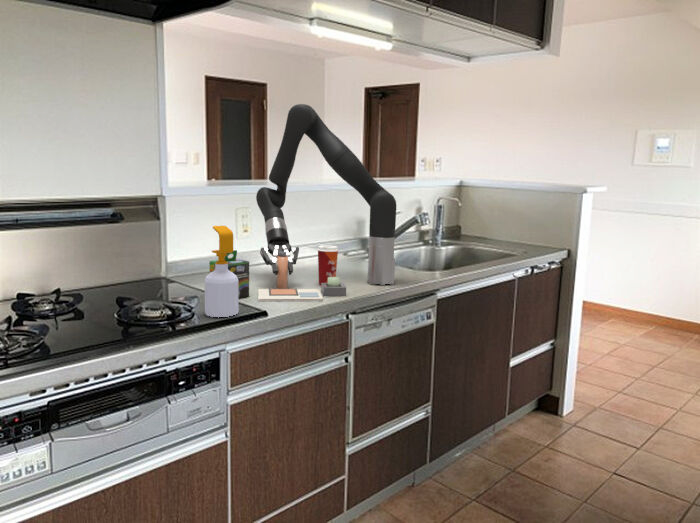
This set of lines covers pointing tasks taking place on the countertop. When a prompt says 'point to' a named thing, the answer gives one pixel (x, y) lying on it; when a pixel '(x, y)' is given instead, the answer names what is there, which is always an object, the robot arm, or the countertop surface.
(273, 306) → the countertop surface
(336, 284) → the button
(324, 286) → the frame
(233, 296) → the soap bottle
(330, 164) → the robot arm
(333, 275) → the paper cup
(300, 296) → the board
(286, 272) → the orange bottle with cap
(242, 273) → the chalk box
